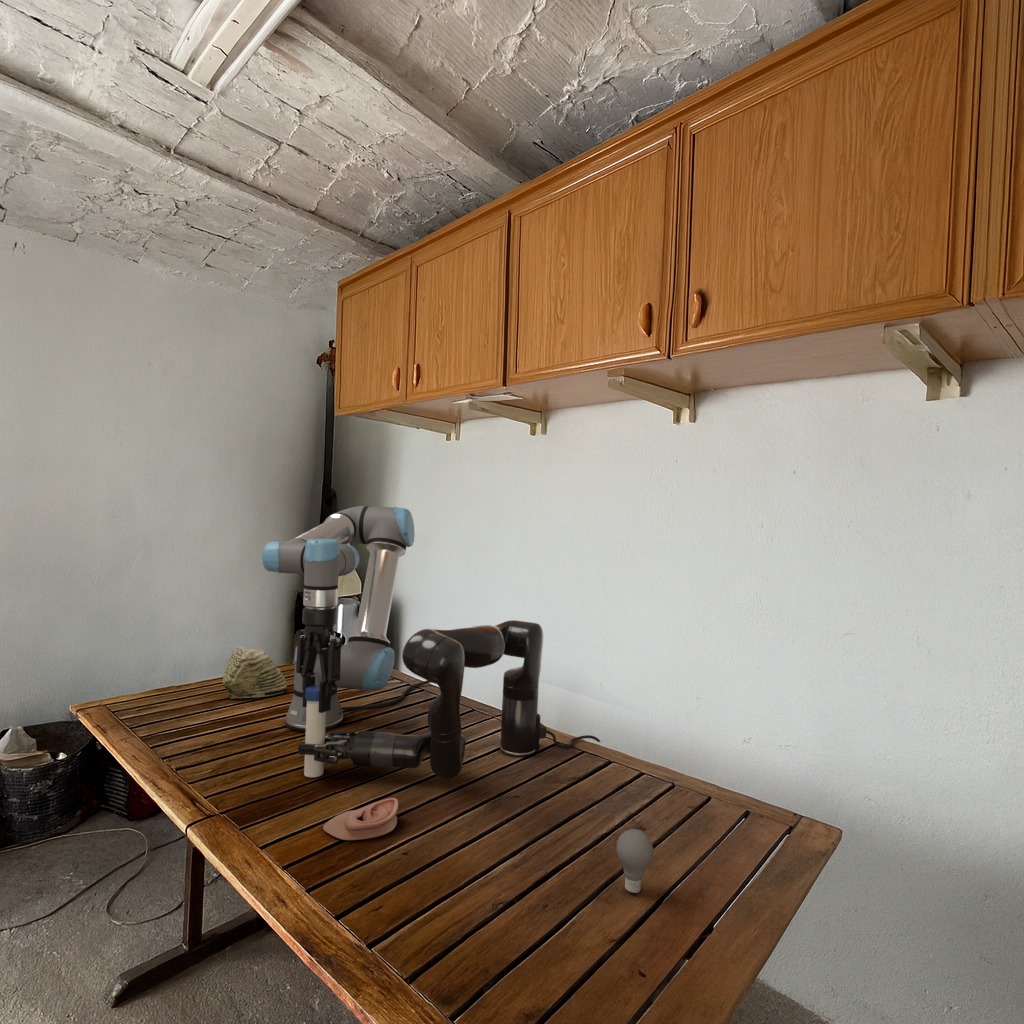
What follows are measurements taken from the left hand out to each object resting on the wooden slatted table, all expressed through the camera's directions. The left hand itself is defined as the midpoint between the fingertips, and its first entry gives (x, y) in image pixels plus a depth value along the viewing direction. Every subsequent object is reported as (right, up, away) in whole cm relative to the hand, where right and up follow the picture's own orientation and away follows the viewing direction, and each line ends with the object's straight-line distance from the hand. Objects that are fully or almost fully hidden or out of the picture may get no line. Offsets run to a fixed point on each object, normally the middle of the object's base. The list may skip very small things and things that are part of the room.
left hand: (316, 708), depth 144 cm
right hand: (-3, -8, 0) cm, 9 cm away
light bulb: (+65, -19, -39) cm, 78 cm away
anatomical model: (+15, -16, -22) cm, 31 cm away
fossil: (-36, -12, +53) cm, 66 cm away
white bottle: (-1, -15, 0) cm, 15 cm away
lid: (0, +4, 0) cm, 4 cm away
